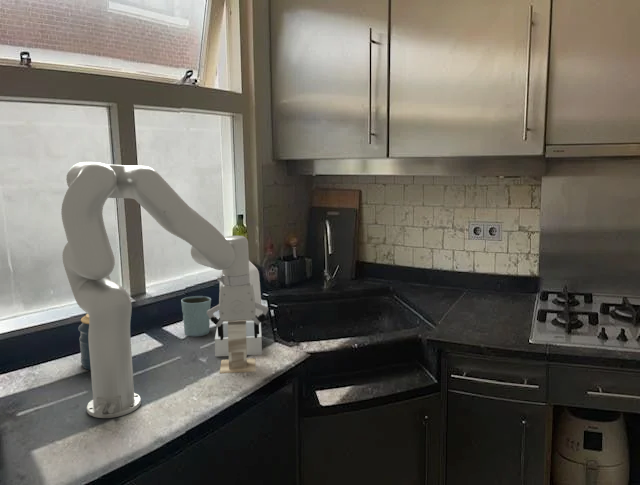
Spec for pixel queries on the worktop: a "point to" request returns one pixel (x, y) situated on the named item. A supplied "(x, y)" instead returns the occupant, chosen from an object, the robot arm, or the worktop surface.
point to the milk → (256, 285)
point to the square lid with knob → (250, 368)
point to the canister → (84, 342)
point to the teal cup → (196, 315)
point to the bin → (252, 343)
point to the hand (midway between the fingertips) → (239, 337)
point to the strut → (237, 344)
